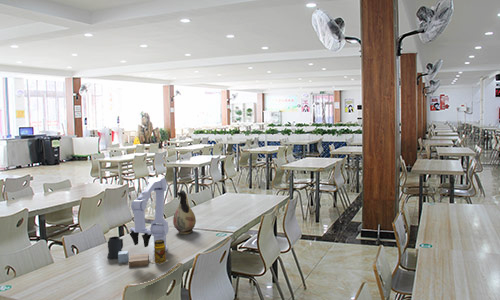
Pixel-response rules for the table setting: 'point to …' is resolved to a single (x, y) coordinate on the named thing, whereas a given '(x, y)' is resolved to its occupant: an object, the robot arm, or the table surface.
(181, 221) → the ceramic jug
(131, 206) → the robot arm
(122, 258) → the blue cube
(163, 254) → the condiment
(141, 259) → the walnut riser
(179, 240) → the table surface
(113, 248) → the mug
